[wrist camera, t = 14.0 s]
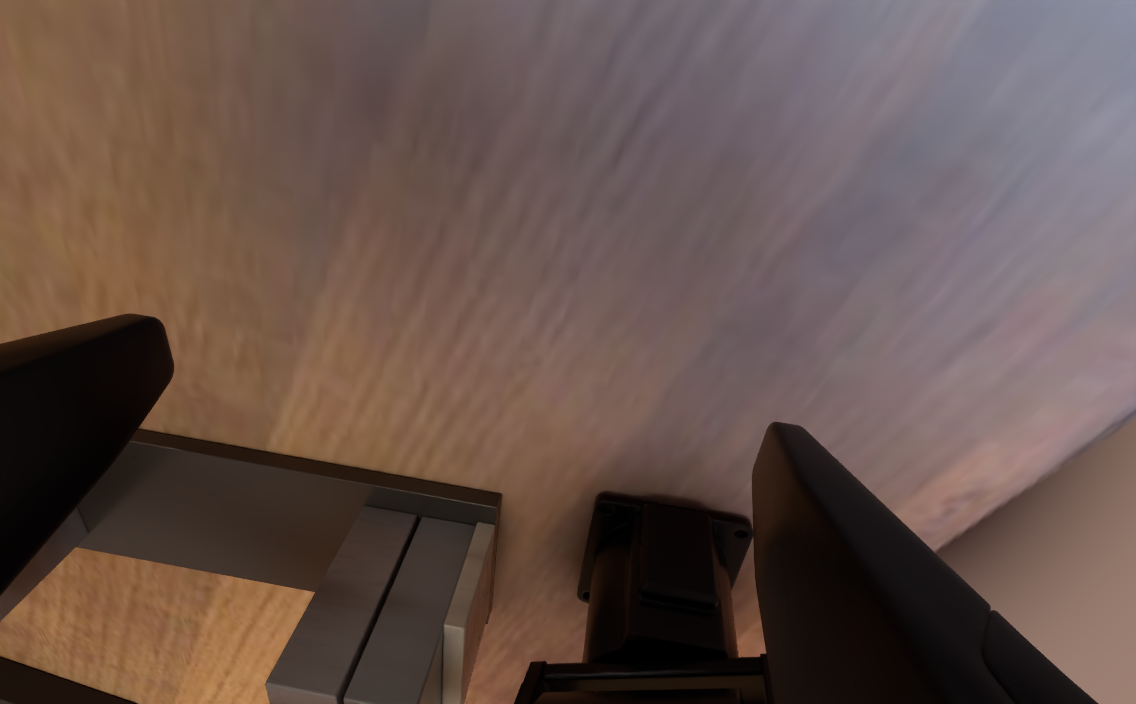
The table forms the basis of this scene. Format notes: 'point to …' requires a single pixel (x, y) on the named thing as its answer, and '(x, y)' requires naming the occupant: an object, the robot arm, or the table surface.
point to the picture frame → (45, 688)
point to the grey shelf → (308, 559)
